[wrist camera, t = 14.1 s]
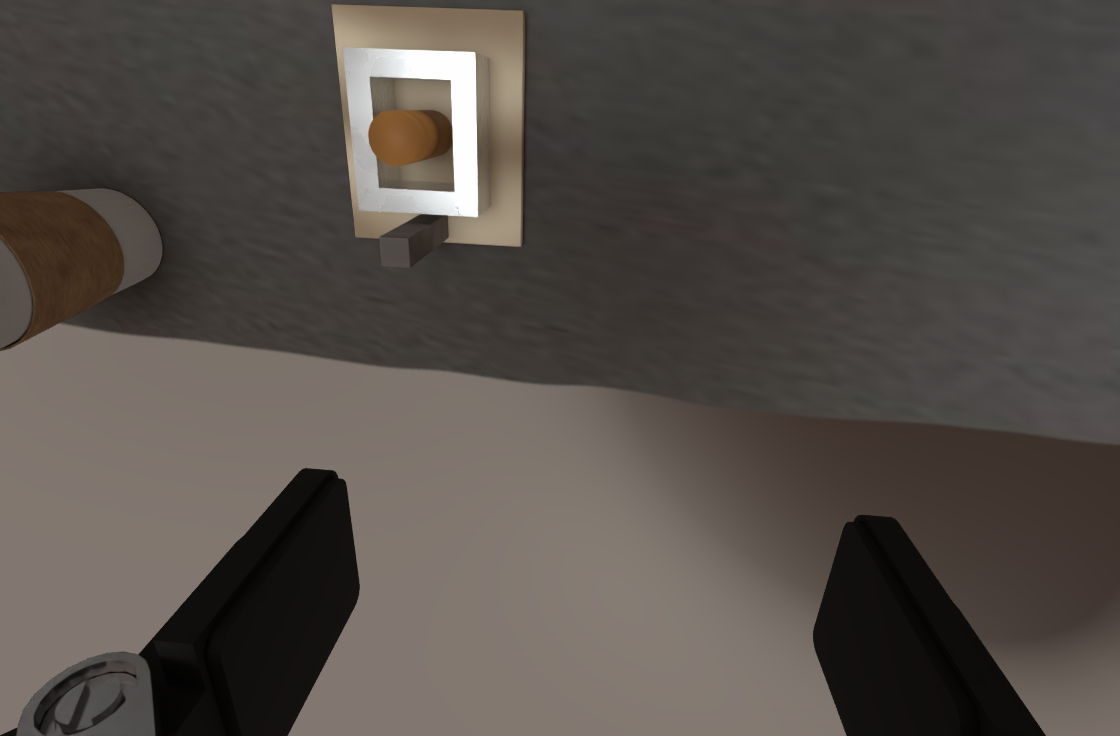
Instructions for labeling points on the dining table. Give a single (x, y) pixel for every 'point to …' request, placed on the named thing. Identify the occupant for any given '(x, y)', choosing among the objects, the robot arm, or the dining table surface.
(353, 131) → the link
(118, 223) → the coffee cup
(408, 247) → the keeper
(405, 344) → the dining table surface
